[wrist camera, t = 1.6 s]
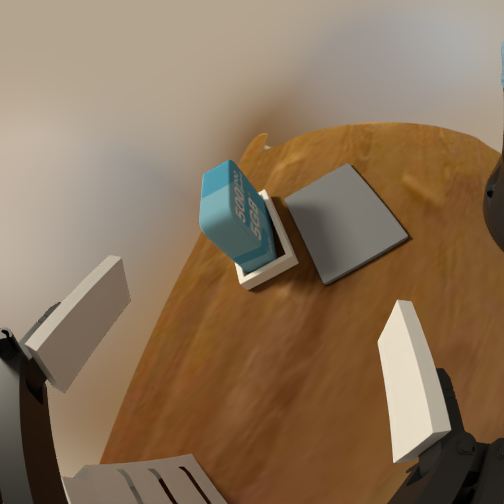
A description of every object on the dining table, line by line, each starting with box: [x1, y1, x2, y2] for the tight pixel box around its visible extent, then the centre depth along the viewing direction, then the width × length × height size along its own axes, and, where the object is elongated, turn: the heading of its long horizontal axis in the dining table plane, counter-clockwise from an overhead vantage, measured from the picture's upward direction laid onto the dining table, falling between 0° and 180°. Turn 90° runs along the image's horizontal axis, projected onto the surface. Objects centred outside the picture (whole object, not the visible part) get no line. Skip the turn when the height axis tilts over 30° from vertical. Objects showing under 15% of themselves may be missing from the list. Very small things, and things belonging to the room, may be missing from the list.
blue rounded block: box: [199, 160, 277, 272], centre depth 39 cm, size 12×4×12 cm, turn 5°
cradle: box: [235, 189, 299, 290], centre depth 43 cm, size 8×15×2 cm, turn 14°
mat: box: [284, 163, 408, 286], centre depth 38 cm, size 12×17×1 cm
